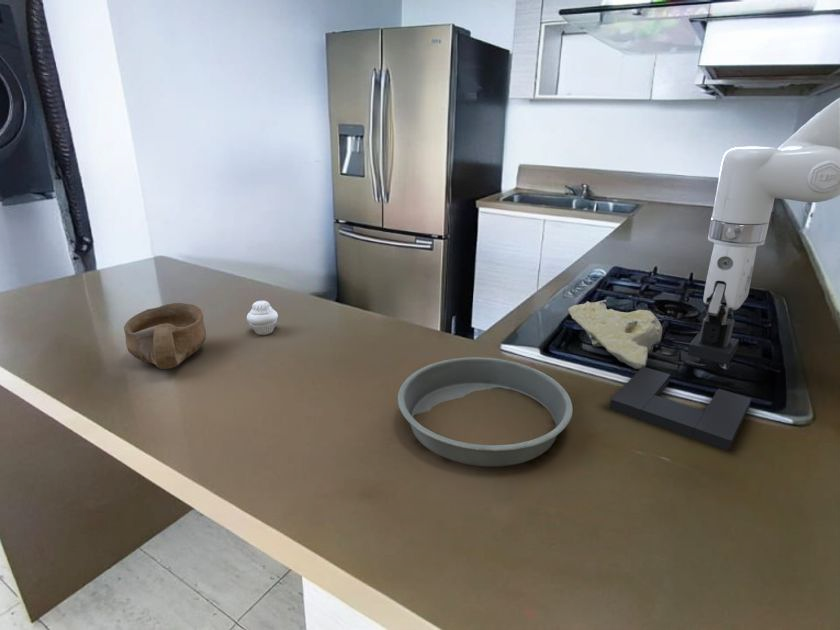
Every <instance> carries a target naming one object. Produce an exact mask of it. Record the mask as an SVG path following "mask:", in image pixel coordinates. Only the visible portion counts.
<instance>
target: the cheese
mask: <svg viewBox="0 0 840 630" xmlns="http://www.w3.org/2000/svg"><path fill="white" fill-rule="evenodd" d="M603 302H604V303H603ZM605 302H607V299H604V300H599V301H594V302H590V301H586V302H585V303H580V304H573V305H572V306H570V307H568V310H567V311H568V313H569V315H570V316H571V319H572V320H573V321H575V322H576V323H577V325H579V326H581V328H582V329H584V331H585V333H586V334H587V335H588V336H589V339H590V341H591V343H592V346H593V347H595V348H596V347H597V348H599V347H601V348H604V349H606V352H608V353H610V354H611V355H612V356H613V357H615V358H616V359H617V360H618V361H619V362H620V363H624V364H626V365H627V366H629V367H631V368H632V369H634V370H638V371H639V370H640V369H641V368H642V367H646V366H647V362H648V356H649V355H648V353H650V352H651V351H652V350H651V346H652V344H654V343H656V342H659V343H660V342H661V339H662V336H663V325H662V324H661V322H660V321H659V319H658V318H657V316H655V314H654V313H653V312H652V311H651V310H647V309H638V310H633V311H630V312H629V311H628V312H624V311H619V310H614V309H613V308H609V309H607V305H606V304H605Z"/></svg>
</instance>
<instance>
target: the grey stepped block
mask: <svg viewBox="0 0 840 630" xmlns="http://www.w3.org/2000/svg"><path fill="white" fill-rule="evenodd" d="M705 320H706V316H705V317H704V318H703V319H702V324H701V329H700V331H699V332H698V333H697V334H696V336H694V338H693V339H692V340H691V341H690V343H689V344H688V349H687V356H691V357H694V358H699V359H703V360H706V361H711V362H715V363H718V364H723V365H726V366H728V365H729V363H730V362H731V361H732V359H733V357H734V356H735V354H736V352H737V351H738V347H739V343H740V339H738V338H734V337H732V335H733V331H734V325H735V322H736V320H735V319H734V318H733V319H729V318H727V321H726V324H728V327H727V331H726V336H725V341H724V345H723V347H722V348H718V347H714V346H710V345H705V344H702V343H701V338H702V333H703V328H704V323H705Z"/></svg>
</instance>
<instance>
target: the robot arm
mask: <svg viewBox="0 0 840 630" xmlns="http://www.w3.org/2000/svg"><path fill="white" fill-rule="evenodd" d="M839 196H840V97H838V98H836V99H835V100H834V101H832V102H831V103H830V104H828V105H827V106H826V107H824V108H823V109H822V110H820V111H819V112H817V113H816V114H815V115H813V116H812V117H811V118H810V119H809V120H808V121H806V123H804V124H803V125H802V126H801V127H800V128H799V129H798V130H797V131H795V132H794V133H793V134H792V135H791V136H790V137H788V138H787V140H785V141H784V142H783V143H782V144H781V145H780V146H779V147H778V148H776V147H769V146H739V147H733V148H729V150H727V151H726V152H725V153H724V154H723V157H722V161H721V165H720V170H719V175H718V182H717V186H716V193H715V199H714V203H713V208H712V214H711V219H710V225H709V228H708V229H709V230H708V234H707V235H708V236H707V240H708V241H709V242H711V243H713V248H712V252H711V256H710V260H709V266H708V271H707V275H706V281H705V284H704V292H703V299H702V302H703V304H704V305H706V306H708V307H707V311H706V316H705V317H706V320H705V323H704V328H703V333H702V338H701V343H702V344H705V345H710V346H714V347H718V348H722V347H723V345H724V341H725V336H726V331H727V327H728V324H726V321H727V318H729V319H734V317H733V315H734V311H736V310H738V309H740V308H741V307H742V305H743V304H744V302H745V301H746V300H747V298H748V296H749V293H750V288H751V282H752V277H753V271H754V266H755V260H756V254H757V247H760V246H761V247H762V246H764V245H765V243H766V237H767V235H768V234H767V233H768V230H769V229H768V228H769V225H770V220H771V215H772V212H773V207H774V202H775V199H781V200H790V201H796V202H802V203H822V202H826V201H830V200H834V199H835V198H837V197H839Z"/></svg>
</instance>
